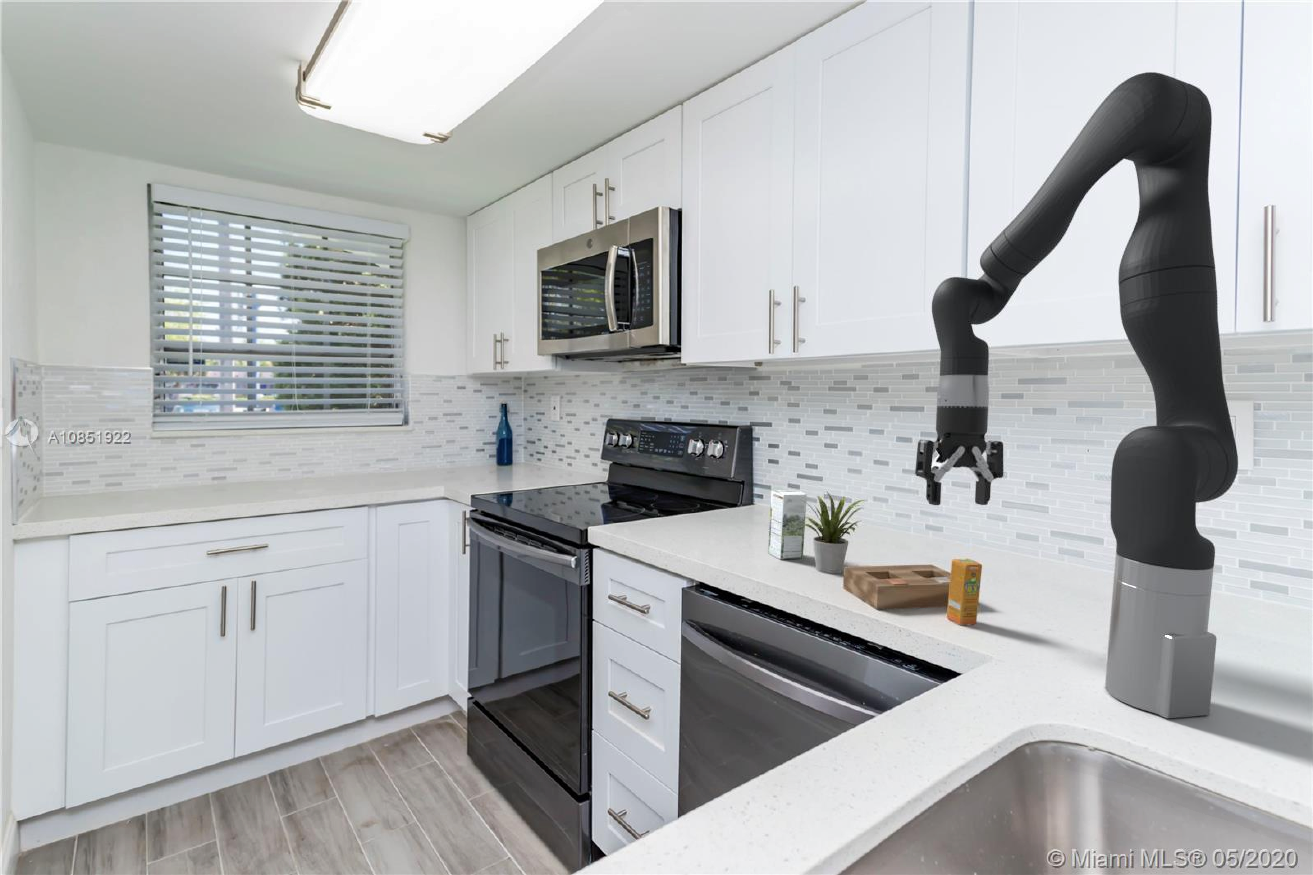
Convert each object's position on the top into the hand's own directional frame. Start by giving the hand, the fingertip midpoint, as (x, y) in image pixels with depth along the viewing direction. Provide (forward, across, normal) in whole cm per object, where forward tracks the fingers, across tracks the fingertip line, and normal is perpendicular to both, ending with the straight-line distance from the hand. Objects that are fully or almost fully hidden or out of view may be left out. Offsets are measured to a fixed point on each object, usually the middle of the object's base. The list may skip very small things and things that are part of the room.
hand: (958, 504), depth 105 cm
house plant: (+18, -7, +28) cm, 34 cm away
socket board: (+18, -2, +11) cm, 22 cm away
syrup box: (+18, -13, +40) cm, 46 cm away
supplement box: (+19, 0, -2) cm, 19 cm away
